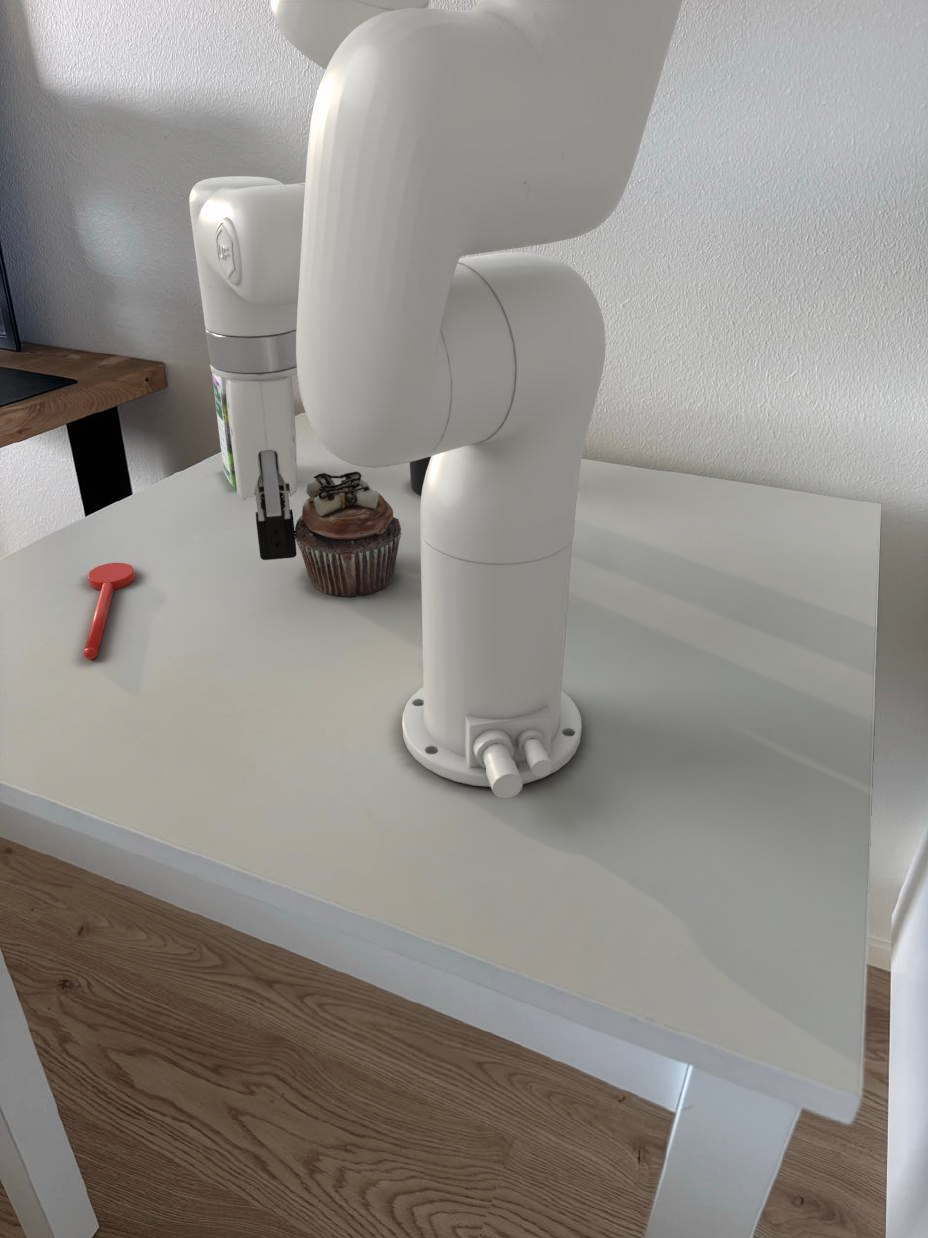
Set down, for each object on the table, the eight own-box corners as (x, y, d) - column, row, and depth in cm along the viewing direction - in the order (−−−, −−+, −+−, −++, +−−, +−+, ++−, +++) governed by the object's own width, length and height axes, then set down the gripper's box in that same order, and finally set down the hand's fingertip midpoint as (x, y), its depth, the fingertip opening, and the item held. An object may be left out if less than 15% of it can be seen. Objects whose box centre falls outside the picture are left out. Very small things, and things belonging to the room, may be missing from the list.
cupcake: (420, 588, 82) (417, 484, 77) (317, 611, 79) (308, 504, 73) (380, 546, 90) (376, 449, 85) (285, 565, 86) (275, 465, 81)
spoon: (117, 658, 72) (115, 648, 71) (64, 664, 71) (61, 653, 71) (137, 568, 85) (135, 558, 85) (92, 572, 85) (90, 562, 84)
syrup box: (222, 473, 106) (205, 348, 99) (272, 465, 108) (259, 342, 101) (233, 490, 102) (216, 360, 94) (285, 482, 104) (272, 354, 97)
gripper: (210, 329, 78) (235, 523, 87) (206, 378, 65) (236, 599, 75) (298, 325, 79) (314, 517, 89) (311, 373, 67) (327, 590, 76)
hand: (278, 554), depth 82 cm, fingers closed
